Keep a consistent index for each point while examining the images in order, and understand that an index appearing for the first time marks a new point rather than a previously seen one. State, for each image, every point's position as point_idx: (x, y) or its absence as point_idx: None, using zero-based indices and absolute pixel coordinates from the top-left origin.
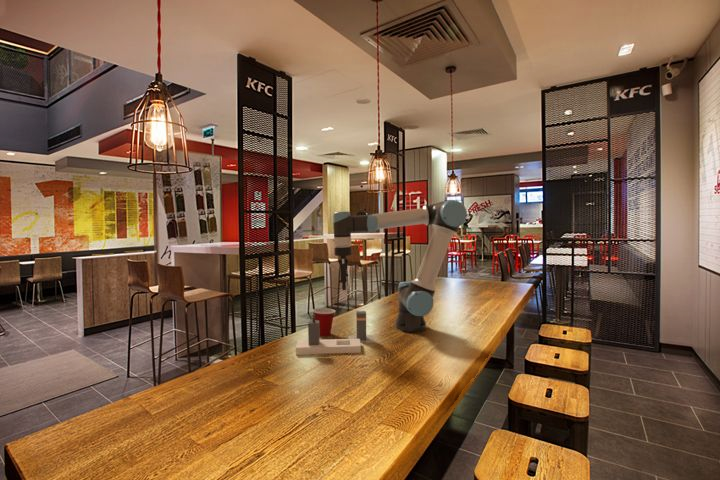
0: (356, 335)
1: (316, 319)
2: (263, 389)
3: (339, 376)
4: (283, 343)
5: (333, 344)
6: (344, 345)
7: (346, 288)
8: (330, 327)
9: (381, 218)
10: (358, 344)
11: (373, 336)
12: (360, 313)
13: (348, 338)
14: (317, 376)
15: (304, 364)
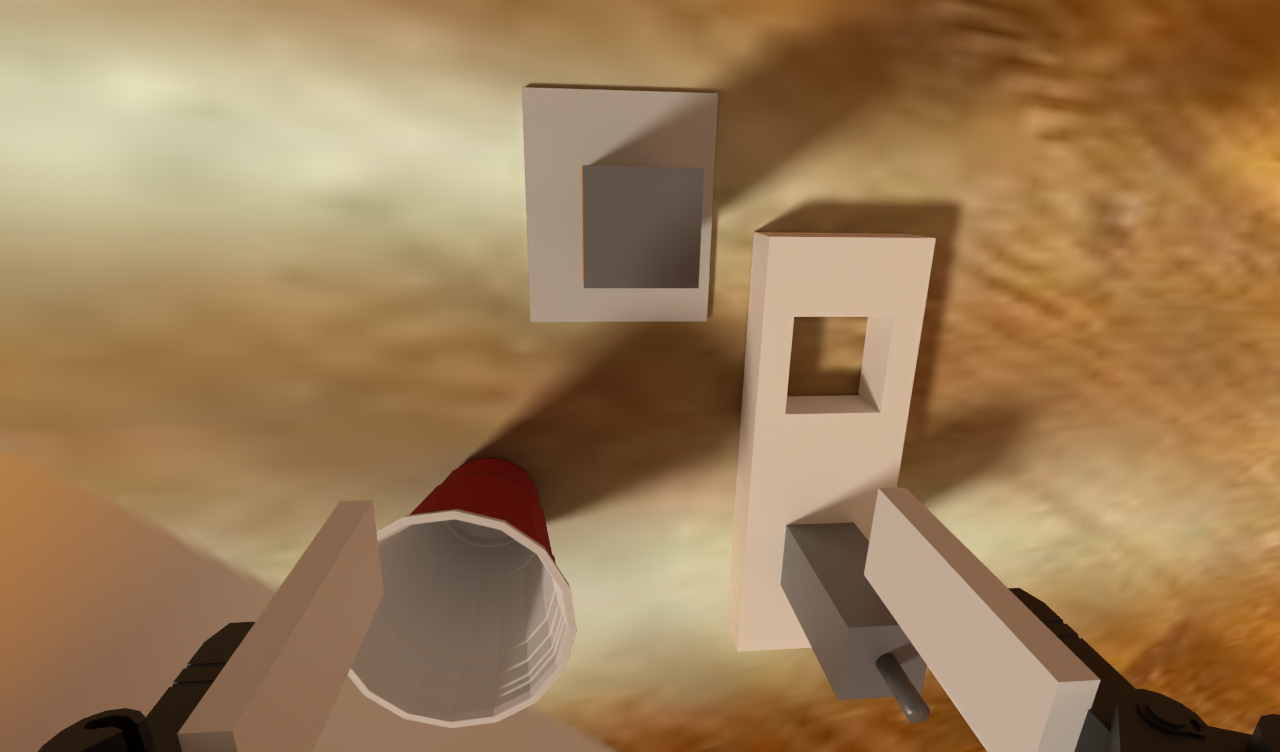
0: (530, 250)
1: (529, 631)
2: (1202, 663)
3: (1196, 366)
4: (650, 708)
5: (861, 432)
6: (897, 356)
7: (992, 589)
8: (511, 482)
9: None
10: (898, 253)
11: (565, 96)
12: (692, 240)
13: (604, 317)
14: (1158, 472)
15: (994, 551)
